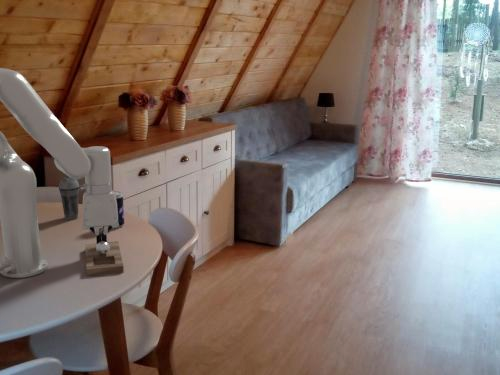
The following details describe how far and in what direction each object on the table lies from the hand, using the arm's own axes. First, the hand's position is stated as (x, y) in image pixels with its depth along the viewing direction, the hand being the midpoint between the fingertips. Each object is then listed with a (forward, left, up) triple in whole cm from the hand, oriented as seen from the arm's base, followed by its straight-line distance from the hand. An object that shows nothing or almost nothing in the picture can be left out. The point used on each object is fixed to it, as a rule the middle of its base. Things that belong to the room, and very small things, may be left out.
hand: (101, 245), depth 169 cm
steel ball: (-4, -4, +1) cm, 6 cm away
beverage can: (+23, +12, -3) cm, 26 cm away
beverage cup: (+23, +32, -3) cm, 39 cm away
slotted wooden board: (-4, -4, -3) cm, 6 cm away
